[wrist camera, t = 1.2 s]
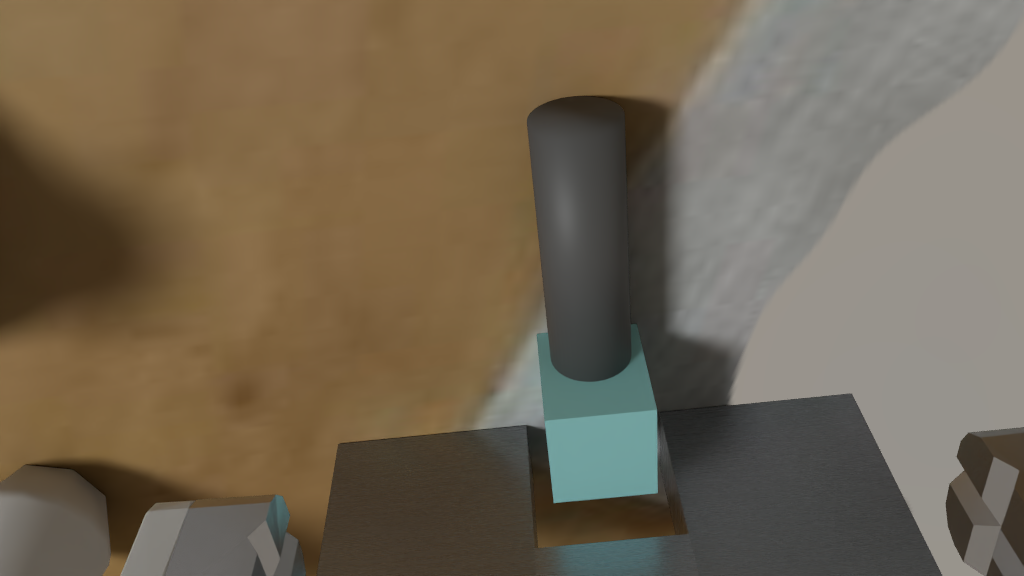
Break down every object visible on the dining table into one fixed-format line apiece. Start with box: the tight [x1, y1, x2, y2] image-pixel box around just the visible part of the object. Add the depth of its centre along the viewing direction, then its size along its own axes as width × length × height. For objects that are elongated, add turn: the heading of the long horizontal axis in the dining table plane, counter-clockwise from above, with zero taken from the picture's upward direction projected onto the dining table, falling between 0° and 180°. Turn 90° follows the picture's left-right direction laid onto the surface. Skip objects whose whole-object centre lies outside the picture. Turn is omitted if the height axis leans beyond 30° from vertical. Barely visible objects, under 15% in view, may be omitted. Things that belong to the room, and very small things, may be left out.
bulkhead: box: [317, 394, 942, 576], centre depth 31 cm, size 3×20×12 cm, turn 96°
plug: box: [527, 96, 658, 503], centre depth 29 cm, size 13×4×4 cm, turn 6°
